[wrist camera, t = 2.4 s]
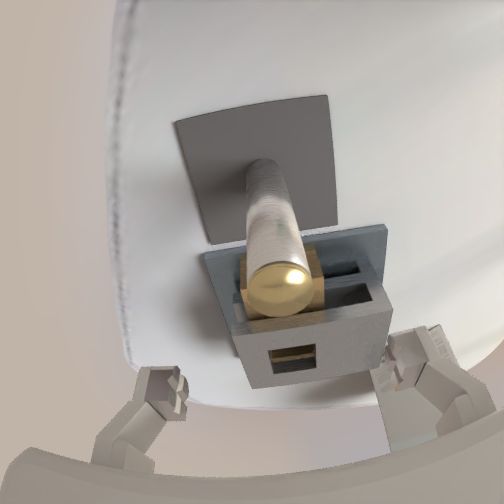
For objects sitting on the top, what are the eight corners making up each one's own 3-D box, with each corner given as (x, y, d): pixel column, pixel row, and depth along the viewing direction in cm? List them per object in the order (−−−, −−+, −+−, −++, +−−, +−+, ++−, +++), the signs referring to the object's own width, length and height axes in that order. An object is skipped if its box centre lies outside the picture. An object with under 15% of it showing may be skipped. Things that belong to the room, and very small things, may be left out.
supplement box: (389, 387, 49) (410, 469, 35) (365, 363, 43) (391, 465, 29) (450, 354, 45) (482, 434, 30) (440, 322, 38) (484, 421, 24)
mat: (176, 121, 22) (175, 122, 22) (326, 95, 21) (327, 95, 21) (211, 242, 29) (211, 245, 29) (336, 222, 28) (337, 224, 28)
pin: (242, 161, 24) (240, 274, 13) (279, 155, 24) (312, 262, 13) (249, 194, 26) (253, 320, 15) (284, 188, 26) (315, 311, 14)
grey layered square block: (204, 252, 30) (195, 308, 24) (384, 224, 28) (415, 272, 22) (241, 356, 40) (241, 404, 34) (370, 335, 39) (385, 381, 33)
